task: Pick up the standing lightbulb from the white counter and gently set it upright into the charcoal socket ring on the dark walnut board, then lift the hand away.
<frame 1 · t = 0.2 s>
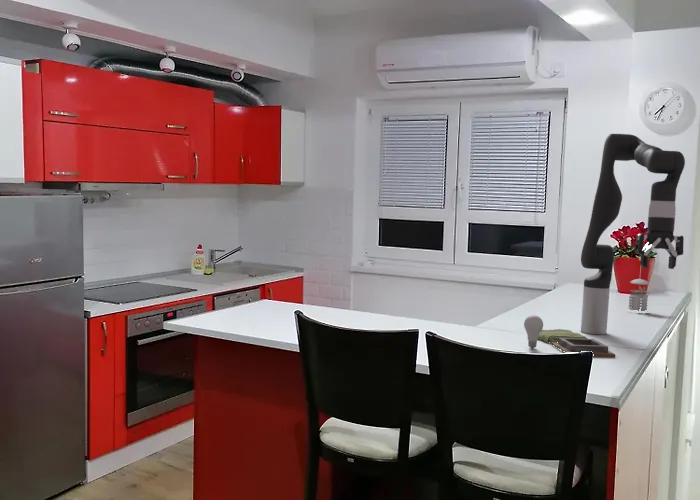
hand: (657, 268, 214), 29 cm above the worktop, tool pointing down, fingers open, 8 cm apart
socket stand: (582, 351, 226), on the worktop
french press: (638, 312, 317), on the worktop
washcloth: (558, 341, 245), on the worktop
lightbulb: (532, 349, 227), on the worktop
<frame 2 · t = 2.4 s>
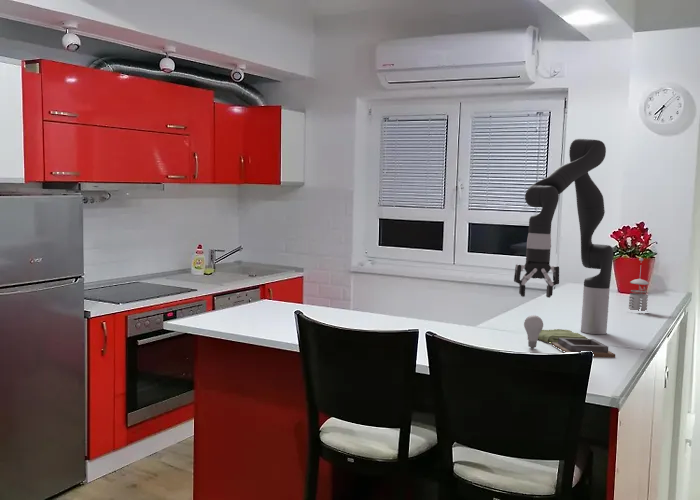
hand: (535, 296, 226), 17 cm above the worktop, tool pointing down, fingers open, 8 cm apart
nothing on the worktop moved.
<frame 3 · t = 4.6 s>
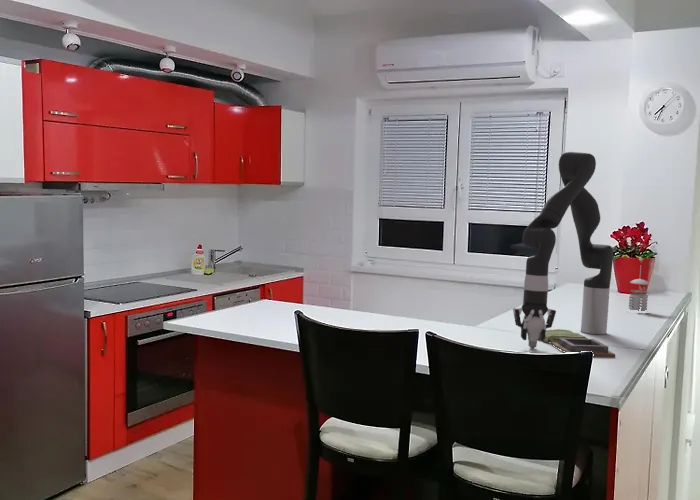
hand: (532, 339, 227), 3 cm above the worktop, tool pointing down, fingers closed on lightbulb, 5 cm apart
lightbulb: (532, 349, 227), on the worktop, touching gripper
everything else where it was.
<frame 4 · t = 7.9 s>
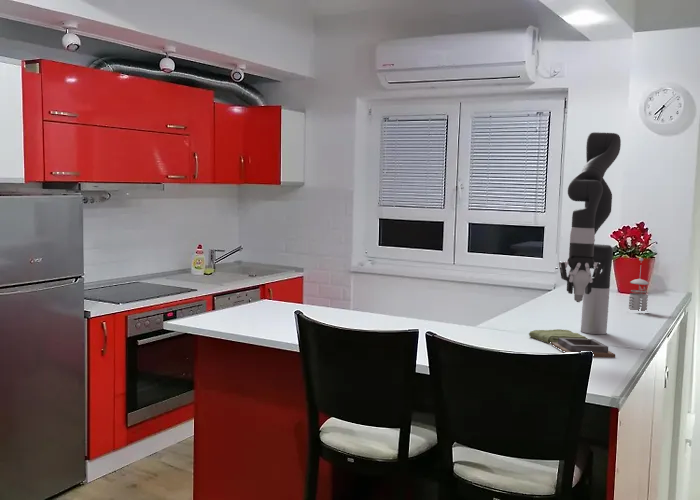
hand: (578, 293, 225), 19 cm above the worktop, tool pointing down, fingers closed on lightbulb, 5 cm apart
lightbulb: (578, 302, 226), point 16 cm above the worktop, touching gripper
everything else where it was.
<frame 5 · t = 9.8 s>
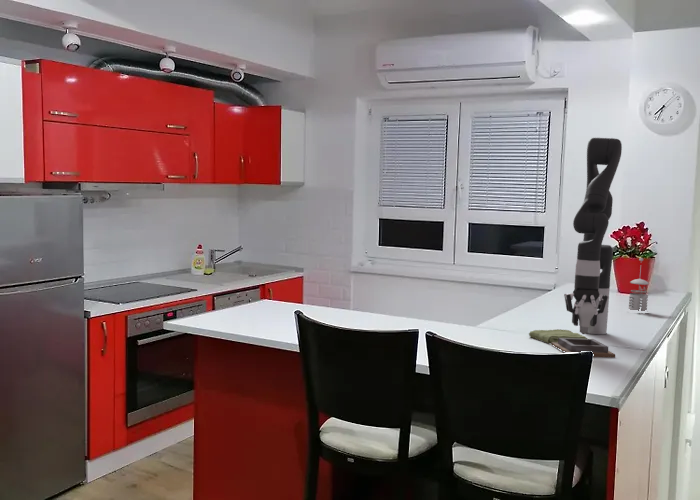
hand: (583, 325, 226), 9 cm above the worktop, tool pointing down, fingers closed on lightbulb, 5 cm apart
lightbulb: (583, 334, 226), point 5 cm above the worktop, touching gripper
everything else where it was.
when the fingers open (4 cm above the worktop, at t = 11.4 s): lightbulb stays where it is, resting on socket stand.
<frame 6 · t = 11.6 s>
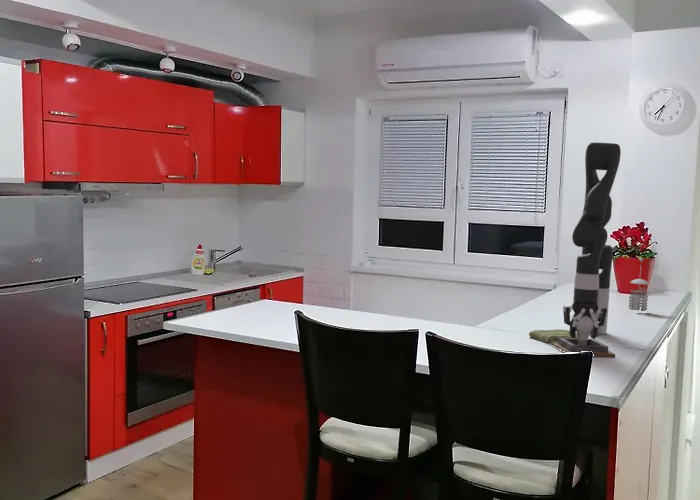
hand: (582, 338, 226), 4 cm above the worktop, tool pointing down, fingers open, 6 cm apart
lightbulb: (582, 348, 226), point 1 cm above the worktop, touching socket stand
everything else where it was.
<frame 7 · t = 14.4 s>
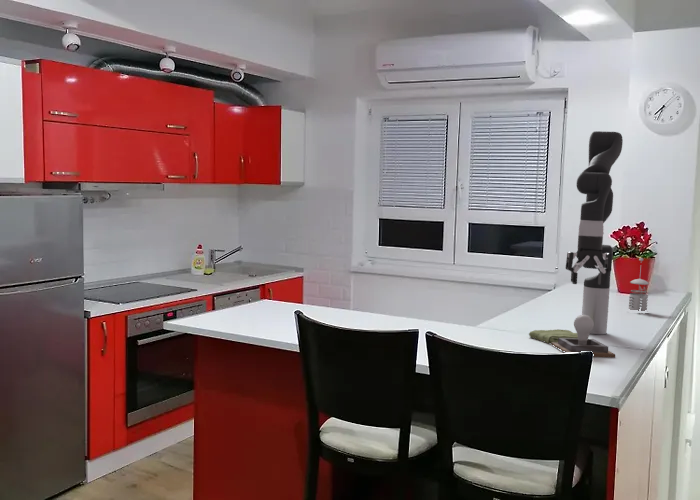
hand: (587, 284, 225), 22 cm above the worktop, tool pointing down, fingers open, 8 cm apart
nothing on the worktop moved.
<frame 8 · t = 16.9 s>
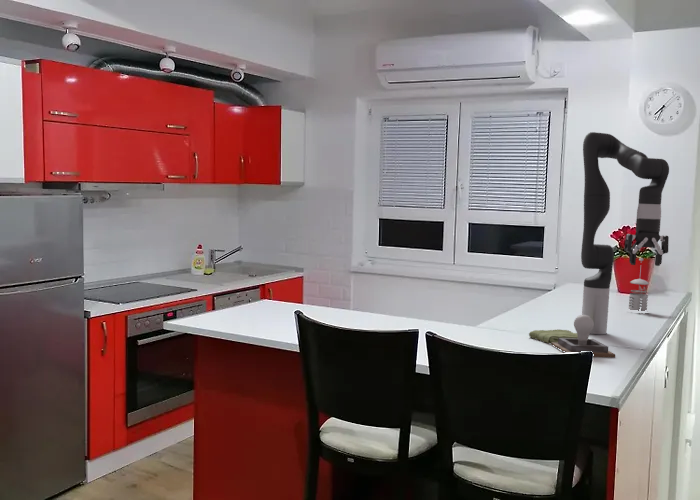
hand: (645, 265, 236), 28 cm above the worktop, tool pointing down, fingers open, 8 cm apart
nothing on the worktop moved.
at the end: lightbulb 0.1 cm off-centre on the socket stand, point 0.8 cm above the socket stand's base; lightbulb tilted 0°; the gripper is holding nothing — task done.
